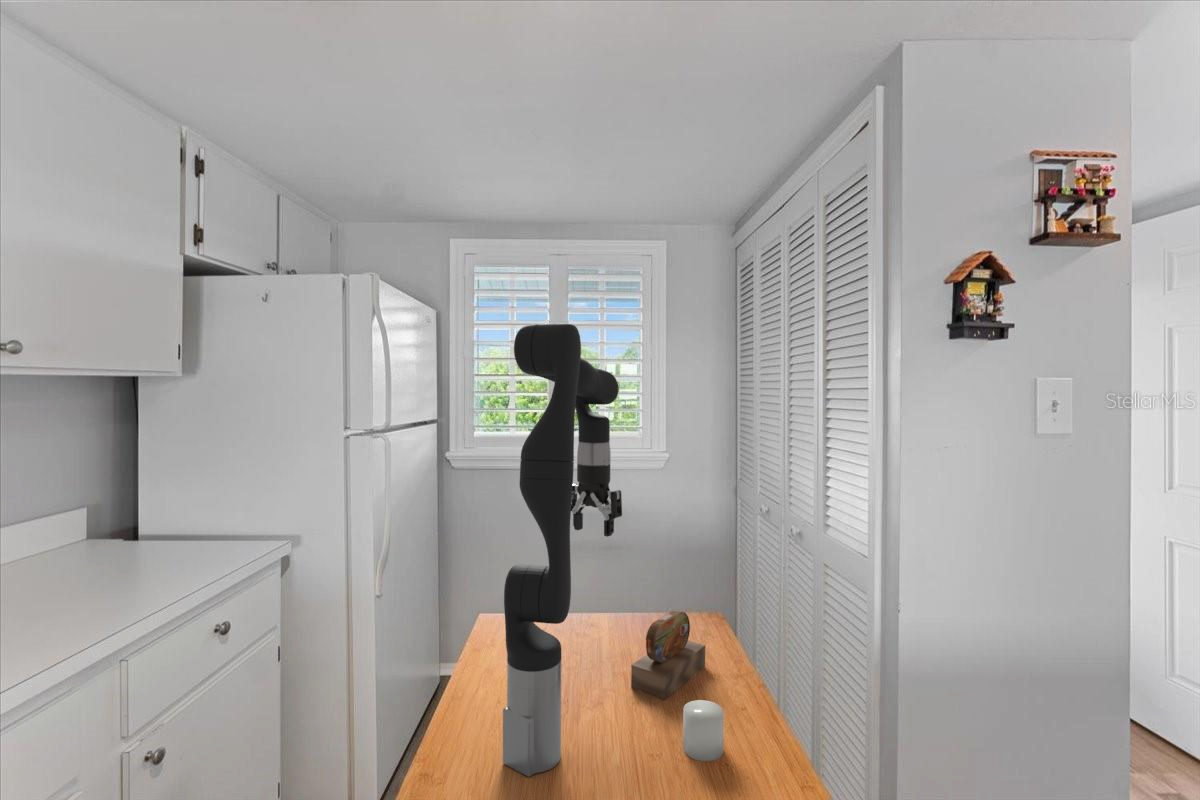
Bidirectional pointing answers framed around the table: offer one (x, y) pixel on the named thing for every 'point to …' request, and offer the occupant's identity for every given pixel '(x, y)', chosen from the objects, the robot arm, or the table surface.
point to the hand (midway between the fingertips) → (593, 532)
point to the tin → (667, 636)
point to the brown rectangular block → (667, 671)
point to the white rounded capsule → (703, 730)
